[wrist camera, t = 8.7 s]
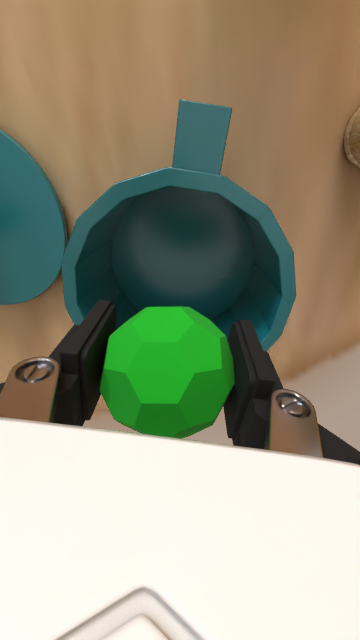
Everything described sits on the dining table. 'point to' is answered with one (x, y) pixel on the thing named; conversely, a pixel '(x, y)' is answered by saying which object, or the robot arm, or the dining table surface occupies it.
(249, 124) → the dining table surface
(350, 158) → the spice jar
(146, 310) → the polyhedron
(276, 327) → the pot
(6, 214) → the lid
